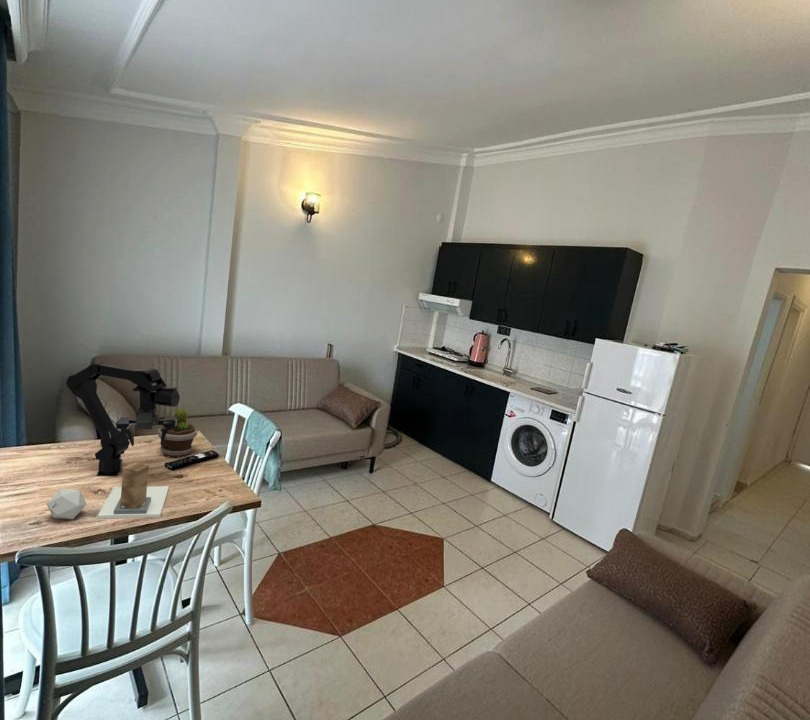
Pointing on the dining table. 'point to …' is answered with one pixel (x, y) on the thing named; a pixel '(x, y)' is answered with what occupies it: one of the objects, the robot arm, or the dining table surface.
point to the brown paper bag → (134, 485)
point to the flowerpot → (178, 436)
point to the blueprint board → (147, 509)
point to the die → (66, 504)
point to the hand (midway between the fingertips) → (147, 445)
